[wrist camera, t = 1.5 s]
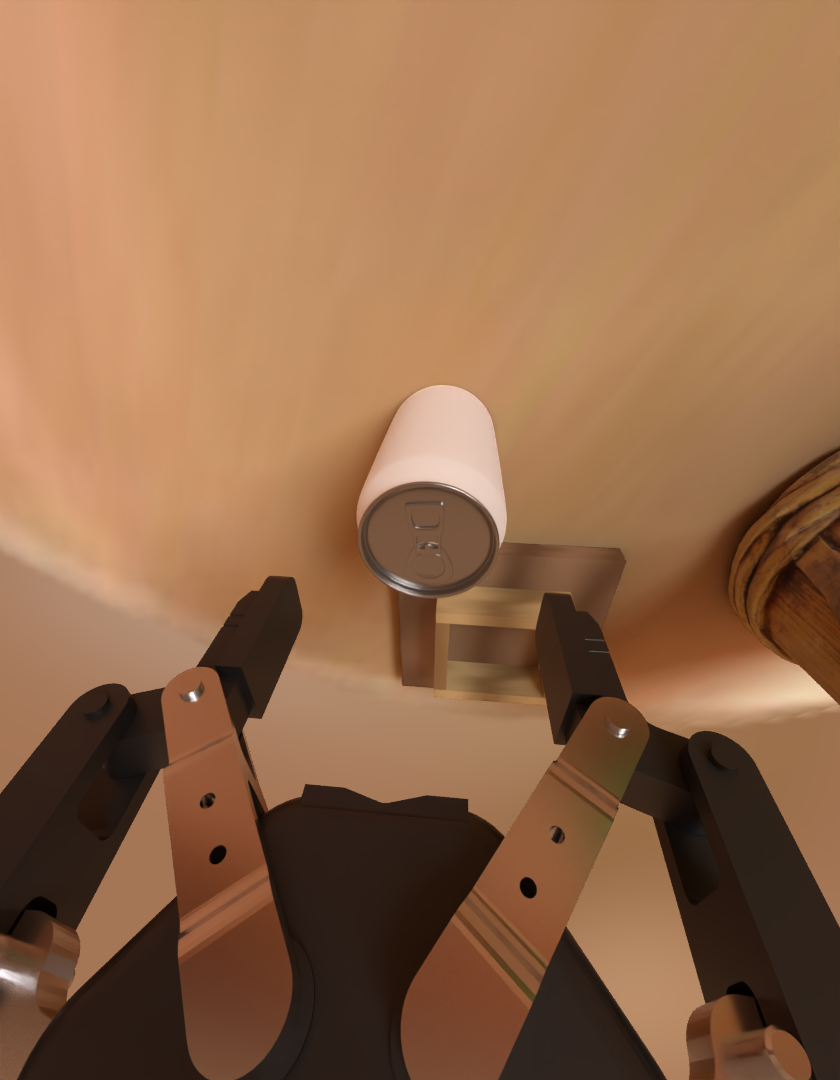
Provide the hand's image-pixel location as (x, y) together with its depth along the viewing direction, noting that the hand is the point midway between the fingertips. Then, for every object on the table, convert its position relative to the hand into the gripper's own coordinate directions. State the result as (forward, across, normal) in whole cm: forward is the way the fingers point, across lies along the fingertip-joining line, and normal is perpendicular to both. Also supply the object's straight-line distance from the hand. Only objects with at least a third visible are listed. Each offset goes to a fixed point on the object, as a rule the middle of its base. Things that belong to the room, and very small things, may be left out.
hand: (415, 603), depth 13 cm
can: (+16, 0, 0) cm, 16 cm away
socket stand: (+15, -5, +16) cm, 23 cm away
